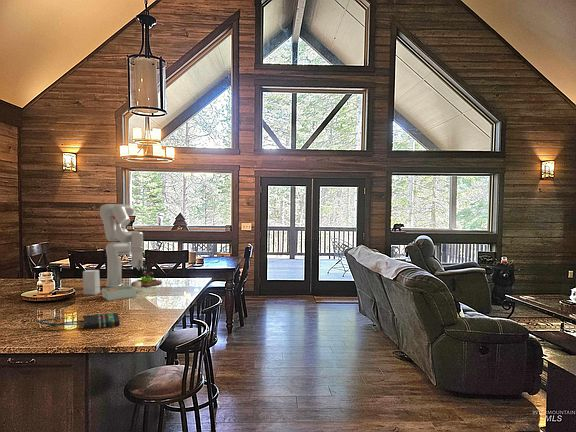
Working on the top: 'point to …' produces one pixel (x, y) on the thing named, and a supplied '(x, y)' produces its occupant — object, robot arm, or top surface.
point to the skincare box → (91, 282)
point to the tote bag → (90, 321)
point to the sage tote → (119, 293)
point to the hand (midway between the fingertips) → (137, 275)
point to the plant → (148, 281)
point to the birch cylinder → (137, 286)
